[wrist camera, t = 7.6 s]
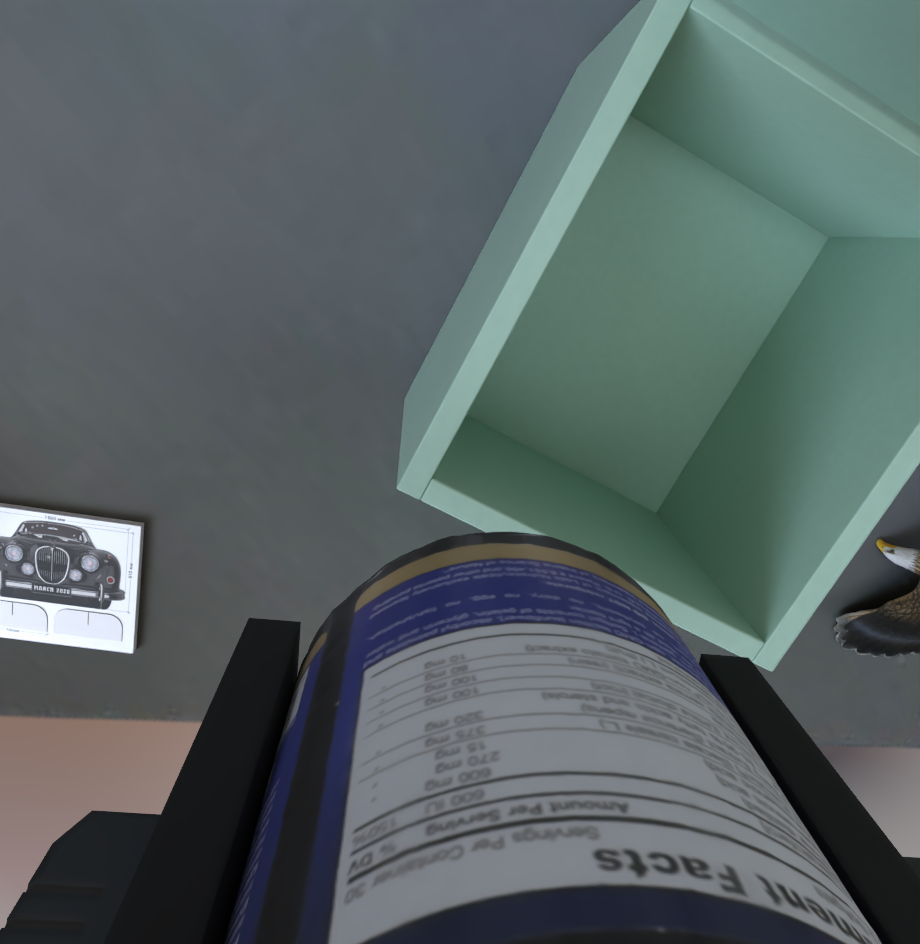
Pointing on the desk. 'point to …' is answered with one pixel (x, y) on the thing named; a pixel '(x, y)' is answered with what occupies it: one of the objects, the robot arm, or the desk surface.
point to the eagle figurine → (886, 617)
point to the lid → (856, 42)
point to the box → (691, 328)
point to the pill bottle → (522, 773)
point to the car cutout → (69, 578)
